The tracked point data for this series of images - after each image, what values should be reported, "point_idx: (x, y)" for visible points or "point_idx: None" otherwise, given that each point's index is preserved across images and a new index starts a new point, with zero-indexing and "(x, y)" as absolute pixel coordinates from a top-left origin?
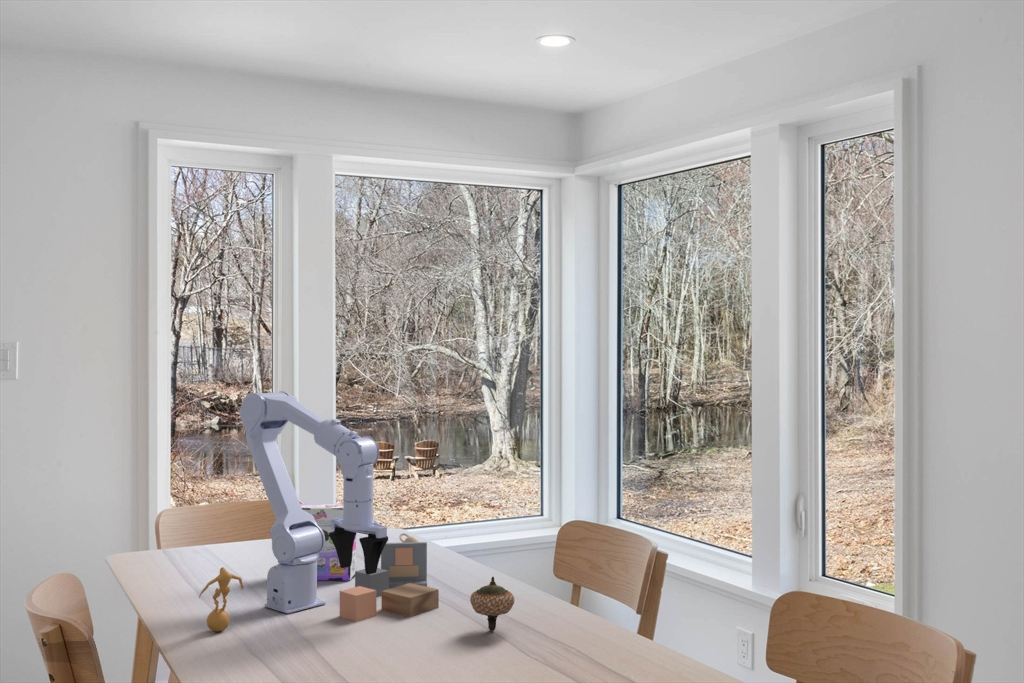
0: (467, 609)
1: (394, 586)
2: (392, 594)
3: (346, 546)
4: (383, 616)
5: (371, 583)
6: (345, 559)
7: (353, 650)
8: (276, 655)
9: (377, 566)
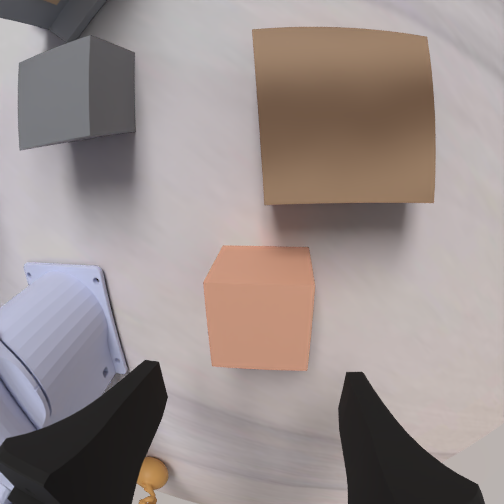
0: (470, 27)
1: (98, 7)
2: (333, 202)
3: (121, 455)
4: (332, 237)
5: (108, 128)
6: (150, 412)
7: (428, 415)
8: (329, 477)
9: (372, 389)
